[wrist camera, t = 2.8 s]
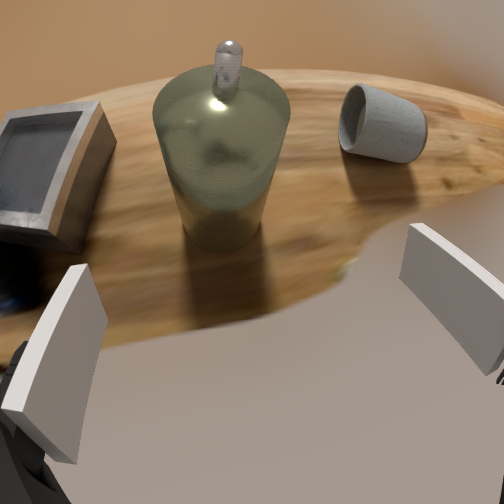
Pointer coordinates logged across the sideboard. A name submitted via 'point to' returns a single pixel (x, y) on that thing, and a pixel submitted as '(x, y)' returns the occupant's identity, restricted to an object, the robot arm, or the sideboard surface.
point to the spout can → (221, 146)
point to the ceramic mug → (381, 125)
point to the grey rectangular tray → (52, 173)
